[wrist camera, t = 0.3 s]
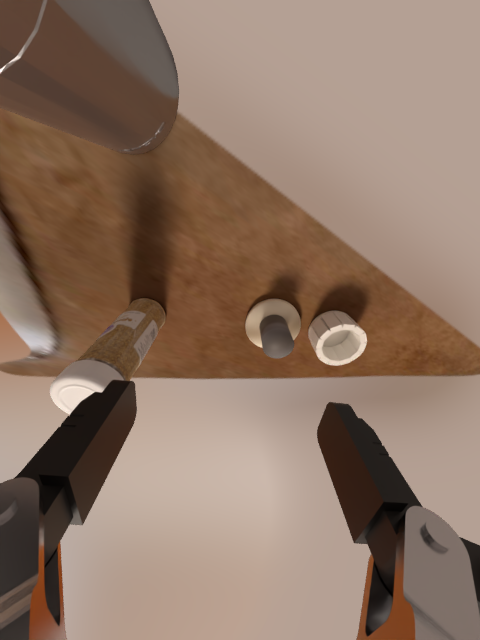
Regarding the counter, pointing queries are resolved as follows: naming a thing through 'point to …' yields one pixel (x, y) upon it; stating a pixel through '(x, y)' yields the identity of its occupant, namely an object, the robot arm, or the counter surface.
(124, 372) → the sprinkles bottle
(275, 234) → the counter surface
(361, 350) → the bowl
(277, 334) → the lid
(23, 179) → the counter surface
